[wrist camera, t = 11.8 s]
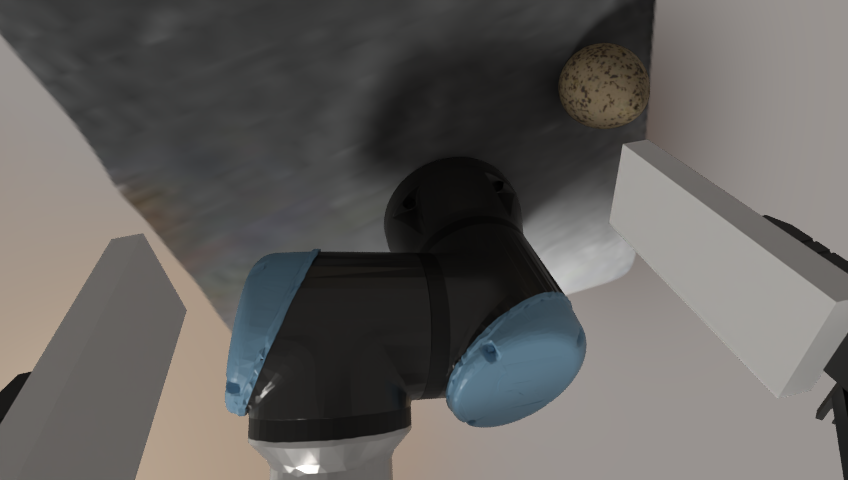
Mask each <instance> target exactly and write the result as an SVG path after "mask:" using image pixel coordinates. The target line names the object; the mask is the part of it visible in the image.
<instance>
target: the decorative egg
mask: <svg viewBox="0 0 848 480" xmlns="http://www.w3.org/2000/svg"><path fill="white" fill-rule="evenodd" d="M558 90H559V97H560V100H561V103H562V105H563V107H564V109H565V110H566V112H567V113H568V114H569V115H570V116H571V117H572V118H573V119H575V120H576V121H578V122H579V123H581V124H583V125H586V126H589V127H592V128H598V129H610V128H616V127H620V126H623V125H625V124H628V123H630V122H631V121H633V120H634V119H636V118H637V117H638V116H639V115H640V114H641V113H642V112H643V110H644V109H645V107H646V105H647V103H648V99H649V94H650V82H649V78H648V74H647V71H646V69H645V67H644V65H643V64H642V62H641V61H640V59H639V58H638V57H637V56H636V55H635V54H634V53H632V52H631V51H630V50H628V49H627V48H625V47H622V46H620V45H617V44H611V43H599V44H593V45H590V46H587V47H585V48H583V49H581V50H579V51H578V52H576V53H575V54H574V55H573V56H572V57H571V58H570V59H569V60H568V61H567V63H566V64H565V66H564V68H563V69H562V72H561V74H560V78H559V85H558Z"/></svg>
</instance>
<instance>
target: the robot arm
mask: <svg viewBox="0 0 848 480" xmlns="http://www.w3.org/2000/svg"><path fill="white" fill-rule="evenodd" d="M609 224H610V225H611V226H612V227H613V228H614V229H615V230H616V231H617V232H618V233H619V234H620V235H621V236H622V237H623V239H624V240H625V241H626V242H627V243H628V244H629V245H630V246H631V247H632V248H633V249H634V250H635V251H636V252H637V253H638V254H639V255H640V256H641V257H642V258H643V259H644V260H645V261H646V262H647V263H648V265H649V266H651V268H652V269H653V270H654V271H655V272H656V273H657V274H658V275H659V276H660V277H661V278H662V279H663V280H664V281H665V282H666V283H667V284H668V285H669V286H670V287H671V288H672V289H673V290H674V291H675V293H676V294H677V295H678V296H679V297H680V298H681V299H682V300H683V301H684V302H685V303H686V304H687V305H688V306H689V307H690V308H691V309H692V310H693V311H694V312H695V313H696V314H697V315H698V316H699V318H700V319H701V320H702V321H703V322H704V323H705V324H706V325H707V326H708V327H709V328H710V329H711V330H712V331H713V332H714V333H715V334H716V335H717V336H718V337H719V338H720V339H721V340H722V341H723V343H724V344H725V345H726V346H727V347H728V348H729V349H730V350H731V351H732V352H733V353H734V354H735V355H736V356H737V357H738V358H739V359H740V360H741V361H742V362H743V363H744V364H745V365H746V366H747V367H748V368H749V370H750V371H751V372H752V373H753V374H754V375H755V376H756V377H757V378H758V379H759V380H760V381H761V382H762V383H763V384H764V385H765V386H766V387H767V388H768V389H769V390H770V391H771V392H772V393H773V394H774V395H775V397H776V398H777V399H779V398H783V397H787V396H791V395H794V394H798V393H802V392H806V391H810V390H811V389H812V388H813V386H814V385H815V383H816V382H817V380H818V379H819V377H820V376H821V374H822V373H823V371H825V372H826V373H827V374H828V375H829V376H830V377H831V378H833V379H834V380H835V381H836V382H837V383H836V384H835V386H834V387H833V389H832V390H831V391H830V393H829V394H828V396H827V397H826V399H825V400H824V401H823V403H822V404H821V405H820V407H819V408H818V410H817V413H816V418H817V419H820V420H823V419H824V417H825V416H826V415H827V413H828V412H829V411H830V409H832V408H833V411H834V417H835V419H834V420H833V422H832V423H833V424H836V431H837V437H838V444H839V450H840V457H841V463H842V470H843V477H844V480H848V261H846V260H845V259H843V258H842V257H840V256H839V255H837V254H836V253H831V252H830V249H828V248H826V247H825V246H823V245H822V244H820V243H819V242H817V241H816V242H814V241H813V239H812V238H811V237H810V236H808V235H806V234H805V233H803V232H802V231H800V230H799V229H797V228H796V227H794V226H793V225H790V224H788V223H785V222H783V221H780V220H778V219H775V218H773V217H770V216H767V215H764V216H761V215H760V214H758V213H756V212H755V211H753V210H752V209H751V208H749V207H747V206H746V205H745V204H743V203H742V202H740V201H739V200H737V199H736V198H734V197H733V196H731V195H730V194H728V193H727V192H725V191H724V190H722V189H721V188H719V187H718V186H716V185H715V184H713V183H712V182H711V181H709V180H708V179H706V178H705V177H703V176H702V175H700V174H698V173H697V172H696V171H694V170H693V169H691V168H690V167H688V166H687V165H685V164H684V163H682V162H681V161H679V160H678V159H676V158H675V157H673V156H672V155H670V154H669V153H667V152H666V151H664V150H663V149H661V148H660V147H658V146H657V145H656V144H654V143H653V142H651V141H649V140H648V139H647V140H642V141H636V142H631V143H626V144H623V147H622V152H621V158H620V164H619V169H618V175H617V181H616V187H615V192H614V198H613V204H612V209H611V215H610V221H609ZM384 229H385V234H386V239H387V243H388V247H389V249H390V252H321V249H314V250H312V251H311V252H290V253H273V254H269V255H266V256H264V257H263V258H261V259H260V260H259V261H258V262H257V263H256V264H255V265H254V266H253V268H252V269H251V271H250V272H249V275H248V277H247V279H246V282H245V285H244V288H243V291H242V294H241V297H240V301H239V305H238V309H237V313H236V317H235V322H234V327H233V332H232V337H231V343H230V349H229V355H228V363H227V373H226V376H227V383H226V391H225V403H226V407H227V410H228V411H229V412H231V413H235V414H237V415H238V416H245V415H246V414H247V413H248V414H249V431H248V443H249V444H250V445H251V446H252V447H253V448H254V449H256V450H257V451H258V452H259V453H260V454H261V455H262V456H263V457H264V458H265V459H266V460H267V462H268V464H269V466H270V480H393V477H392V454H393V451H394V449H395V448H396V447H397V446H398V444H399V443H400V442H401V441H402V439H403V438H404V437H405V436H406V435H407V434H408V433H409V431H410V430H411V406H410V405H411V401H412V400H420V399H434V398H435V399H436V398H446V402H447V405H448V407H449V408H450V410H451V411H452V412H453V413H454V415H455V416H456V417H457V418H458V419H459V420H460V421H462V422H466V423H467V424H468V425H471V426H474V427H495V426H500V425H505V424H509V423H512V422H515V421H517V420H520V419H522V418H525V417H526V416H529V415H531V414H533V413H535V412H536V411H538V410H540V409H541V408H543V407H544V406H546V405H547V404H548V403H549V402H551V401H553V400H554V399H555V398H556V397H558V396H559V395H560V394H561V393H562V392H563V391H564V390H565V389H566V388H567V387H568V386H569V384H570V383H571V382H572V381H573V379H574V378H575V376H576V375H577V373H578V372H579V370H580V368H581V366H582V364H583V361H584V357H585V353H586V337H585V333H584V330H583V328H582V326H581V324H580V322H579V321H578V319H577V317H576V315H575V313H574V312H573V310H572V305H571V302H570V301H569V300H568V298H567V297H566V296H565V294H564V293H563V292H562V290H561V289H560V287H559V286H558V284H557V283H556V281H555V280H554V279H553V277H552V276H551V274H550V273H549V271H548V270H547V268H546V267H545V265H544V264H543V263H542V261H541V260H540V258H539V257H538V255H537V254H536V252H535V251H534V250H533V248H532V247H531V245H530V244H529V242H528V241H527V240H526V238H525V236H524V235H523V227H522V217H521V208H520V203H519V200H518V197H517V195H516V193H515V191H514V189H513V188H512V186H511V185H510V183H509V182H508V181H507V179H506V178H505V177H504V175H503V174H502V173H501V172H500V171H498V170H497V169H496V168H495V167H493V166H491V165H490V164H488V163H486V162H483V161H480V160H477V159H472V158H463V157H456V158H447V159H442V160H439V161H435V162H432V163H430V164H428V165H425V166H423V167H422V168H420V169H418V170H416V171H415V172H414V173H412V174H411V175H410V176H408V177H407V178H406V179H405V180H404V181H403V182H402V183H401V184H400V185H399V186H398V188H397V189H396V190H395V192H394V193H393V195H392V197H391V198H390V201H389V203H388V205H387V208H386V212H385V218H384ZM186 311H187V310H186V308H185V306H184V305H183V303H182V301H181V299H180V297H179V296H178V294H177V292H176V290H175V289H174V287H173V285H172V283H171V282H170V280H169V278H168V276H167V275H166V273H165V271H164V269H163V268H162V266H161V264H160V263H159V261H158V259H157V257H156V255H155V254H154V252H153V250H152V248H151V247H150V245H149V243H148V241H147V239H146V238H145V236H144V234H137V235H132V236H126V237H121V238H116V239H111V241H110V243H109V244H108V246H107V248H106V249H105V251H104V253H103V254H102V256H101V258H100V259H99V261H98V263H97V264H96V266H95V268H94V269H93V271H92V273H91V274H90V276H89V278H88V279H87V281H86V283H85V284H84V286H83V288H82V290H81V291H80V293H79V294H78V296H77V298H76V299H75V301H74V303H73V304H72V306H71V307H70V309H69V311H68V312H67V314H66V316H65V317H64V319H63V321H62V322H61V324H60V326H59V328H58V329H57V331H56V332H55V334H54V336H53V337H52V339H51V341H50V342H49V344H48V346H47V347H46V349H45V351H44V352H43V354H42V356H41V357H40V359H39V361H38V362H37V364H36V366H35V367H34V369H33V371H32V372H28V373H23V374H19V375H17V376H16V377H15V378H14V379H13V380H12V381H11V382H10V383H9V384H8V385H7V386H6V387H5V388H4V389H3V390H2V391H1V392H0V480H135V478H136V474H137V471H138V468H139V464H140V461H141V458H142V455H143V451H144V448H145V445H146V442H147V438H148V435H149V432H150V428H151V425H152V422H153V419H154V415H155V412H156V409H157V406H158V402H159V399H160V396H161V392H162V389H163V386H164V383H165V379H166V376H167V373H168V369H169V366H170V363H171V360H172V356H173V353H174V350H175V347H176V343H177V340H178V337H179V334H180V330H181V327H182V324H183V321H184V317H185V314H186Z"/></svg>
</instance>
